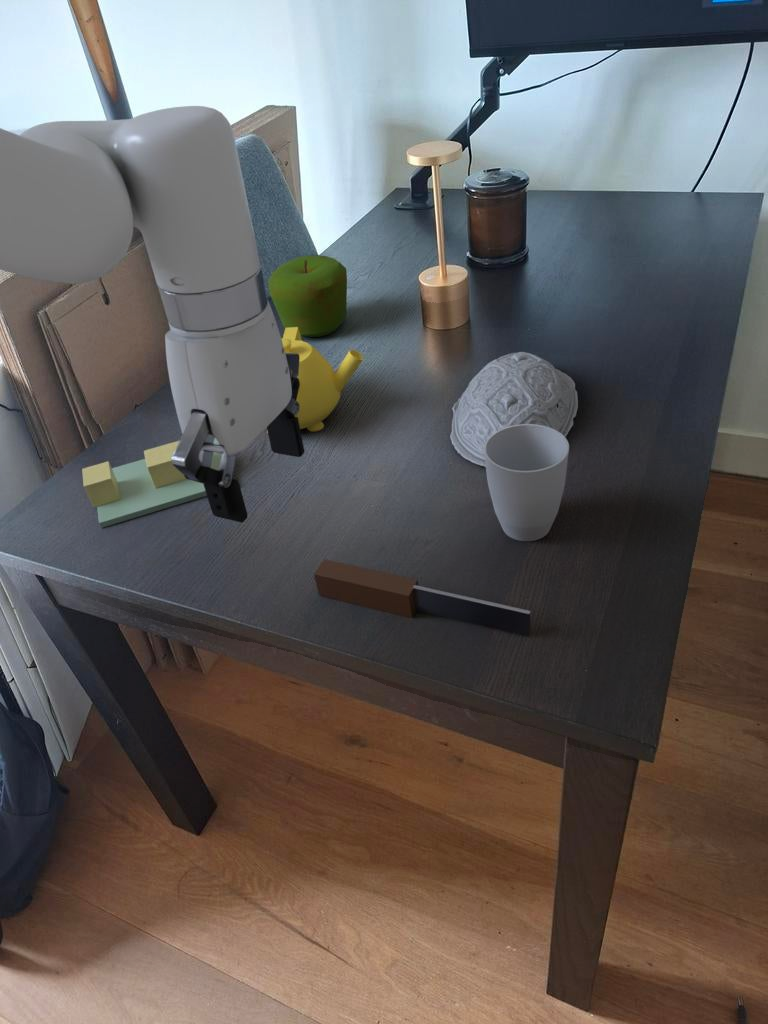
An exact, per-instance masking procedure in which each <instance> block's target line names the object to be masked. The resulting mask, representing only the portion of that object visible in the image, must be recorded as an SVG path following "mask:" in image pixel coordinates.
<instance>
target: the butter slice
mask: <svg viewBox="0 0 768 1024" xmlns="http://www.w3.org/2000/svg"><path fill="white" fill-rule="evenodd" d="M112 468H113V467H112V465H111V463H110V461H109V460H107V461H104V462H101V463H97V464H94V465H90V466H87V467H83V468H82V470H81V473H82V483H83V488H84V490H85V493H86V495H87V497H88V499H89V501H90V504H91V506H92V507H93V508H97V506H100V505H103V504H107V503H110V502H113V501H117V500H120V495H119V488H118V482H117V480H116V477H115V475H114V472H113V470H112Z"/></svg>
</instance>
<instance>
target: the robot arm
mask: <svg viewBox="0 0 768 1024" xmlns="http://www.w3.org/2000/svg"><path fill="white" fill-rule="evenodd" d="M235 139H236V138H235V134H234V130H233V128H232V125H231V123H230V122H229V120H228V119H227V117H226V116H225V115H224V114H223V113H222V112H221V111H219V110H218V109H216V108H213V107H209V106H203V105H185V106H183V105H182V106H173V107H167V108H162V109H157V110H152V111H149V112H146V113H142V114H139V115H137V116H134V117H132V118H125V119H109V120H108V119H107V120H106V119H105V120H58V121H57V120H56V121H48V122H43V123H40V124H36V125H34V126H32V127H30V128H27V129H25V131H23V132H22V133H20V134H17V133H14V132H11V131H8V130H6V129H3V128H1V127H0V271H3V272H7V273H12V274H13V275H18V276H21V277H25V278H29V279H33V280H37V281H42V282H47V283H55V284H69V285H72V284H73V285H75V284H84V283H88V282H92V281H96V280H98V279H100V278H103V277H104V276H105V275H108V274H109V273H111V272H112V271H113V270H114V269H115V268H116V267H118V266H119V265H120V264H121V262H122V261H123V259H124V258H125V256H126V255H127V253H128V251H129V248H130V246H131V244H132V239H133V235H134V228H135V229H137V230H138V231H140V234H141V235H142V238H143V242H144V245H145V248H146V252H147V255H148V259H149V262H150V266H151V268H152V272H153V275H154V279H155V282H156V285H157V290H158V293H159V295H160V299H161V302H162V306H163V309H164V312H165V316H166V320H167V323H168V327H169V330H168V331H167V332H166V333H165V335H164V342H165V343H164V344H165V356H166V357H165V358H166V367H167V372H168V380H169V385H170V389H171V395H172V400H173V403H174V407H175V408H174V409H175V411H176V416H177V420H178V423H179V427H180V430H181V434H182V435H181V437H180V439H179V440H180V441H179V440H178V441H179V443H178V445H177V447H176V449H175V451H174V454H173V456H172V464H173V465H174V466H175V467H176V468H177V469H178V470H179V471H180V472H181V473H182V474H184V476H185V478H186V479H189V480H193V481H196V482H199V483H203V484H204V488H205V491H206V494H207V496H206V498H207V501H208V504H209V507H210V511H211V513H212V515H213V516H215V517H217V518H219V519H224V520H225V519H226V520H228V521H233V522H237V523H244V522H245V521H246V520H247V519H248V511H247V507H246V504H245V500H244V496H243V493H242V488H241V485H240V482H239V480H237V479H235V478H233V475H234V471H235V465H236V460H237V456H238V455H237V454H240V453H241V452H242V451H244V450H245V449H246V448H247V447H249V445H251V443H253V442H254V440H256V439H257V438H258V436H260V435H261V434H262V432H264V431H265V430H266V432H267V431H268V433H267V436H268V439H269V444H270V448H271V451H272V452H273V453H275V454H278V455H285V456H289V457H290V456H291V457H295V458H301V457H302V456H303V455H304V454H305V447H304V443H303V437H302V432H301V431H302V430H301V429H300V426H299V421H298V417H295V415H297V414H298V413H299V410H300V405H299V403H298V402H297V401H296V399H297V395H298V391H299V387H300V381H299V379H298V378H297V376H298V374H299V360H300V357H299V354H297V353H289V352H285V350H284V347H283V343H282V337H281V333H280V330H279V327H278V323H277V320H276V317H275V314H274V311H273V309H272V306H271V304H270V302H269V299H268V295H267V291H266V290H267V289H266V285H265V281H264V276H263V270H262V266H261V261H260V255H259V253H258V252H259V251H258V245H257V240H256V235H255V230H254V226H253V221H252V215H251V212H250V207H249V200H248V196H247V192H246V187H245V181H244V176H243V171H242V167H241V161H240V158H239V152H238V148H237V142H236V140H235ZM215 438H216V439H217V441H218V442H219V444H220V445H216V444H213V442H214V439H215ZM213 452H216V453H222V458H221V463H220V469H219V470H216V469H212V468H210V467H211V462H212V456H213Z"/></svg>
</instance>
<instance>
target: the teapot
mask: <svg viewBox="0 0 768 1024" xmlns="http://www.w3.org/2000/svg"><path fill="white" fill-rule="evenodd" d="M281 339H282V343H283V347H284V350H285V352H289V353H297V354H299V357H300V360H299V374H298V376H297V378H298V379H299V381H300V387H299V391H298V395H297V399H296V401H297V402H298V403H299V405H300V410H299V413H298V414H297V415H295V417H298V421H299V426H300V430H303V429H307V430H308V431H310V432H318V431H320V430H322V429H324V427H325V425H324V423H323V421H324V420H325V419H326V418H328V417H329V416H330V414H332V412H333V411H334V410H335V408H336V407H337V405H338V403H339V401H340V400H341V395H342V390H343V389H344V388H345V386H346V384H347V383H348V382H349V380H350V379H351V378H352V377H353V375H354V373H355V372H356V370H357V369H358V368H359V366H360V365H361V363H362V362H363V361H364V359H365V358H364V356H363V355H362V354H361V353H360V352H359V351H357V350H355V349H349V351H348V352H347V354H346V355H345V357H344V359H343V360H342V362H341V363H340V365H339V366H338V368H337V370H336V371H335V370H334V368H333V366H332V365H331V364H330V363H329V361H328V360H327V359H326V358H325V357H324V356H323V355H322V354H321V353H320V352H319V351H318V350H317V349H316V348H315V347H314V346H313V345H311V344H310V343H308V342H306V341H303V338H302V336H301V335H300V332H299V329H298V327H290V328H284V332H283V336H282V337H281ZM266 433H267V434H268V431H267V430H266Z"/></svg>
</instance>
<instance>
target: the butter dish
mask: <svg viewBox="0 0 768 1024" xmlns="http://www.w3.org/2000/svg"><path fill="white" fill-rule="evenodd" d="M213 444H216V445H220V443H219V442H218V441H217V439H216V438H215V437H214V442H213ZM221 458H222V453H216V452H213V456H212V462H211V468H212V469H216V470H219V469H220V463H221ZM111 468H112V470H113V472H114V475H115V477H116V480H117V482H118V488H119V495H120V500H117V501H113V502H110V503H107V504H103V505H100V506H97V507H96V511H97V518H98V519H97V520H98V524H99V527H100V528H101V529H103V528H106V527H109V526H113V525H116V524H119V523H123V522H127V521H129V520H132V519H135V518H139V517H142V516H145V515H149V514H152V513H156V512H158V511H161V510H165V509H169V508H171V507H175V506H178V505H182V504H184V503H188V502H191V501H195V500H198V499H200V498H205V497H207V494H206V491H205V488H204V484H203V483H199V482H196V481H193V480H189V479H185V480H182V481H179V482H175V483H172V484H169V485H165V486H162V487H159V488H155V487H154V484H153V481H152V479H151V476H150V474H149V471H148V469H147V464H146V460H145V458H143V459H139V460H135V461H132V462H129V463H126V464H122V465H119V466H115V467H111Z"/></svg>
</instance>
